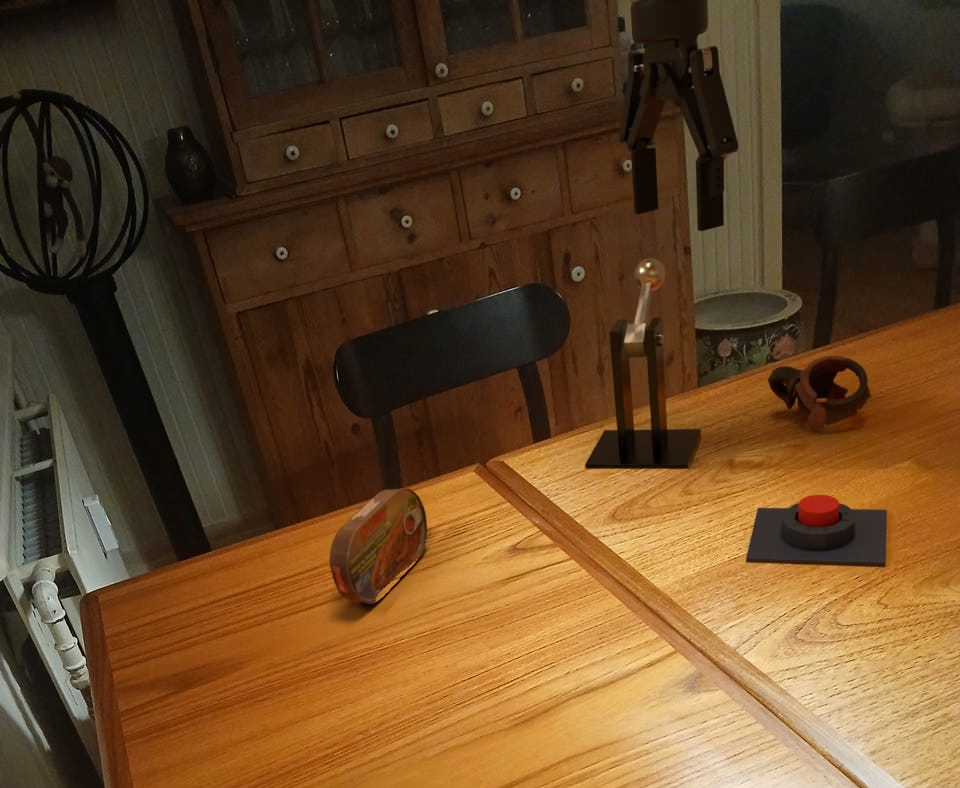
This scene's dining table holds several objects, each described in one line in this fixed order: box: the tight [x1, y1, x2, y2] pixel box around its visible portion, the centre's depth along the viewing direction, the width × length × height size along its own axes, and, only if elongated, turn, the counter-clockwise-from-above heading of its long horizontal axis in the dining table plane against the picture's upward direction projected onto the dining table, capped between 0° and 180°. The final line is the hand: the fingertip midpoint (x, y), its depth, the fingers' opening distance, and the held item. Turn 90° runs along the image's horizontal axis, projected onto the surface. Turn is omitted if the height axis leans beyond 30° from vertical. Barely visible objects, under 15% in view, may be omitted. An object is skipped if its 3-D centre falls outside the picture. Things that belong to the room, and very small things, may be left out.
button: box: [798, 494, 841, 527], centre depth 91 cm, size 4×4×2 cm
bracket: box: [584, 316, 702, 470], centre depth 114 cm, size 10×12×16 cm
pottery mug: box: [767, 355, 872, 432], centre depth 118 cm, size 12×10×8 cm
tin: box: [329, 487, 428, 605], centre depth 100 cm, size 15×3×8 cm, turn 154°
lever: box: [624, 257, 666, 359], centre depth 112 cm, size 13×4×4 cm, turn 161°
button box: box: [745, 502, 888, 568], centre depth 93 cm, size 12×10×4 cm
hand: (677, 219), depth 109 cm, fingers open, 13 cm apart
